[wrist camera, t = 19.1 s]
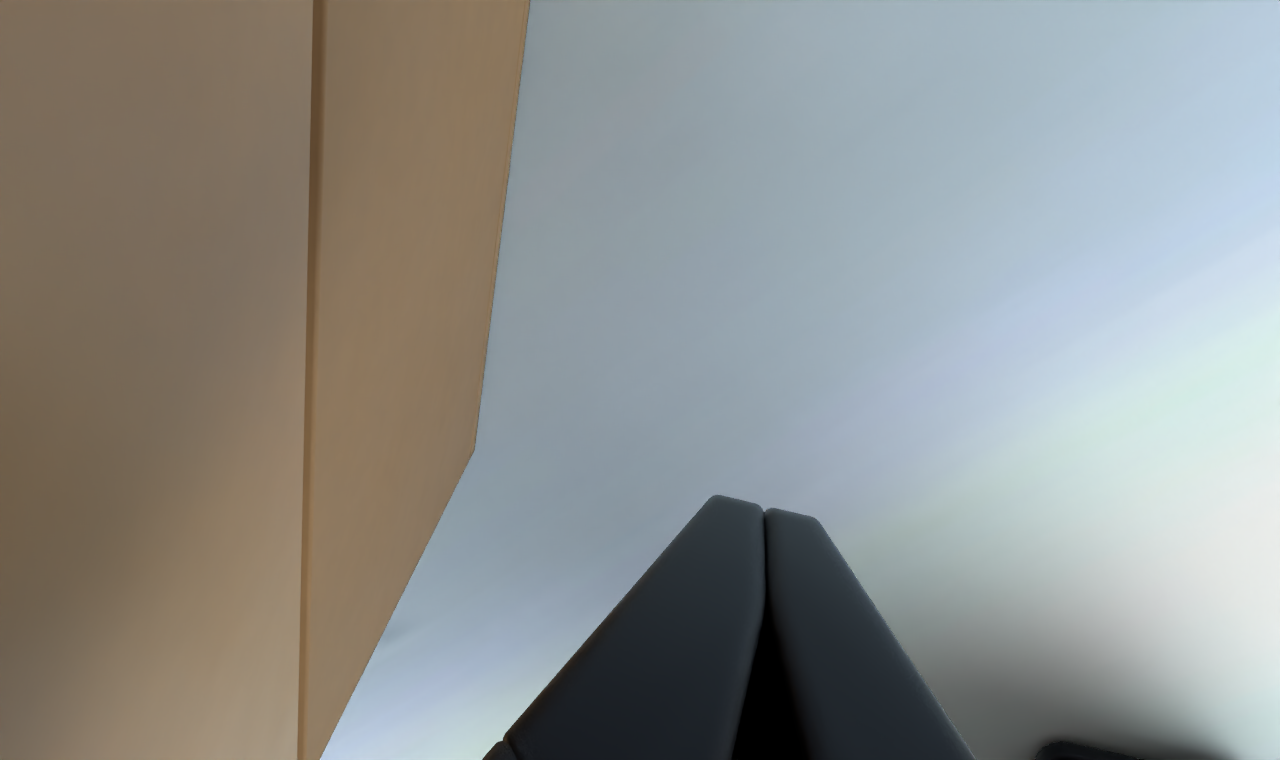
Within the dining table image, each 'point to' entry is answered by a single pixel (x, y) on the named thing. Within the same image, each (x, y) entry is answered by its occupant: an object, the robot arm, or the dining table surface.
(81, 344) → the flap
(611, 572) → the dining table surface
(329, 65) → the carton
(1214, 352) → the dining table surface
